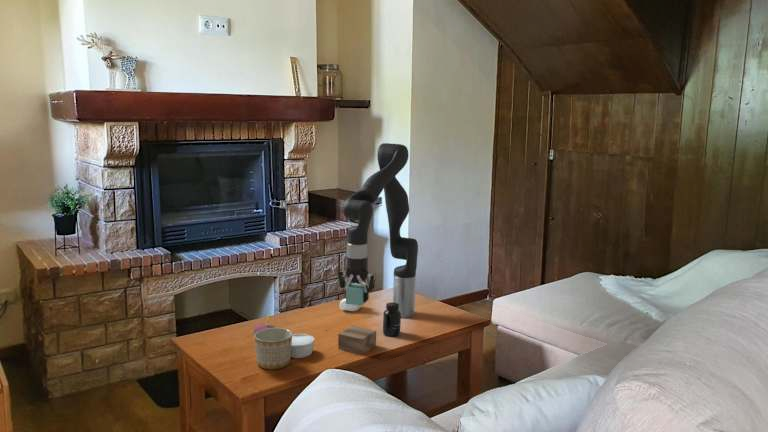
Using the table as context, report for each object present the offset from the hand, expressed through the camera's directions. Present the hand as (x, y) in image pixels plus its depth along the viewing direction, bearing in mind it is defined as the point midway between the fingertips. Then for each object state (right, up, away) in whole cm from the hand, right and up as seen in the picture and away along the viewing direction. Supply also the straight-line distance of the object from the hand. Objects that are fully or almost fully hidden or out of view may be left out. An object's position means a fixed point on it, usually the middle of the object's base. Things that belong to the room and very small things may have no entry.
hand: (356, 300), depth 219 cm
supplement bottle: (+13, -15, +16) cm, 26 cm away
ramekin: (-20, -19, -4) cm, 28 cm away
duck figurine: (-4, -10, +42) cm, 44 cm away
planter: (-28, -20, -13) cm, 36 cm away
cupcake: (-34, -17, +5) cm, 38 cm away
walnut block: (0, -18, +2) cm, 18 cm away
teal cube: (0, -1, 0) cm, 1 cm away
